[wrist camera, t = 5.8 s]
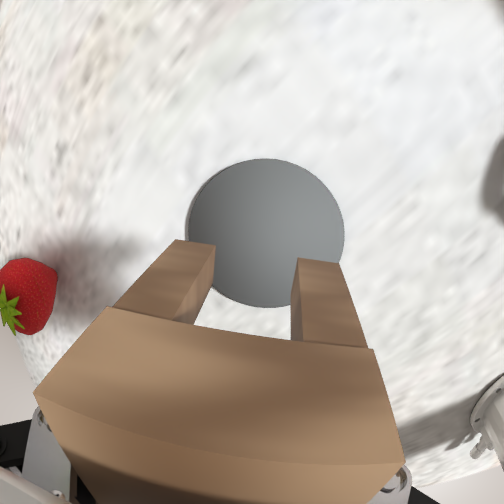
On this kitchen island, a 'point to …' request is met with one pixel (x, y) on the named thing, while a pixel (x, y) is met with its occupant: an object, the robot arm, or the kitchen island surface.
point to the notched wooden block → (223, 397)
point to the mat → (265, 228)
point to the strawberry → (26, 295)
